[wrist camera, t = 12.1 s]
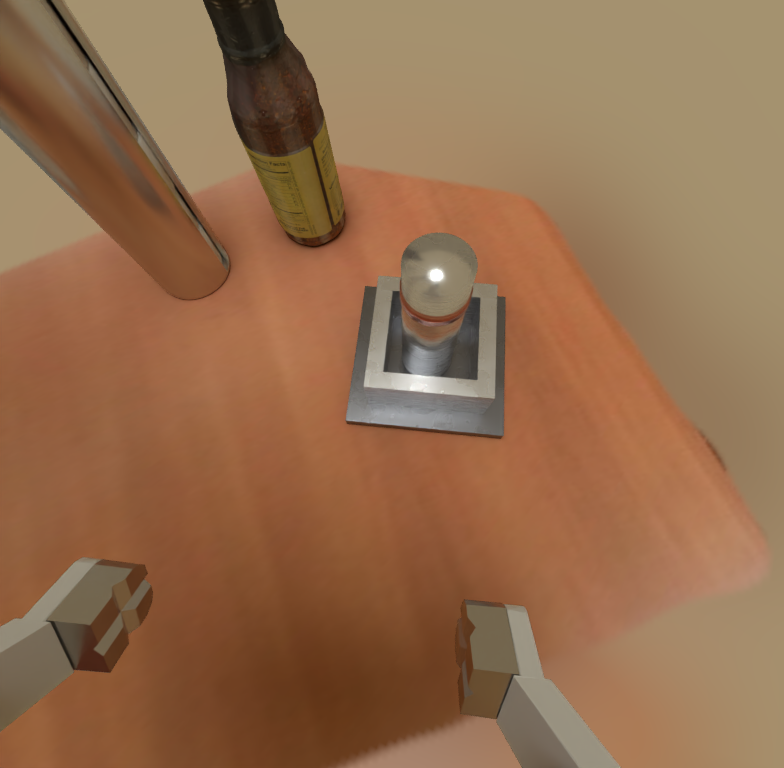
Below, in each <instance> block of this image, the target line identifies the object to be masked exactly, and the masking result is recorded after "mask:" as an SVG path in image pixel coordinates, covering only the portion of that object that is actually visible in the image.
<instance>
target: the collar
mask: <svg viewBox="0 0 784 768" xmlns="http://www.w3.org/2000/svg"><path fill="white" fill-rule="evenodd" d="M400 279H401V277H388V276H378V284H377V287H369V286H365V292H364V299H363V306H362V313H361V320H360V327H359V333H358V340H357V347H356V354H355V361H354V368H353V374H352V381H351V388H350V395H349V402H348V409H347V415H346V422H347V424H356V425H366V426H377V427H387V428H397V429H407V430H418V431H428V432H438V433H448V434H459V435H469V436H479V437H489V438H500V439H501V438H502V437H503V436H504V364H505V297H498V296H497V285H493V284H480V283H473V293H472V297H471V300H470V303H469V306H468V309H467V310H466V312H465V315H464V318H463V322H462V325H461V328H460V332H459V335H458V339H457V342H456V346H455V349H454V353H453V356H452V360H451V363H450V366H449V368H448V369H447V370H446V371H445V372H444V373H443V374H442V375H440V376H438V377H435V376H424V375H412V374H411V373H410V372H409V371H408V370H407V369H406V367H405V366H404V364H403V360H402V306H401V302H400Z"/></svg>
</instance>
